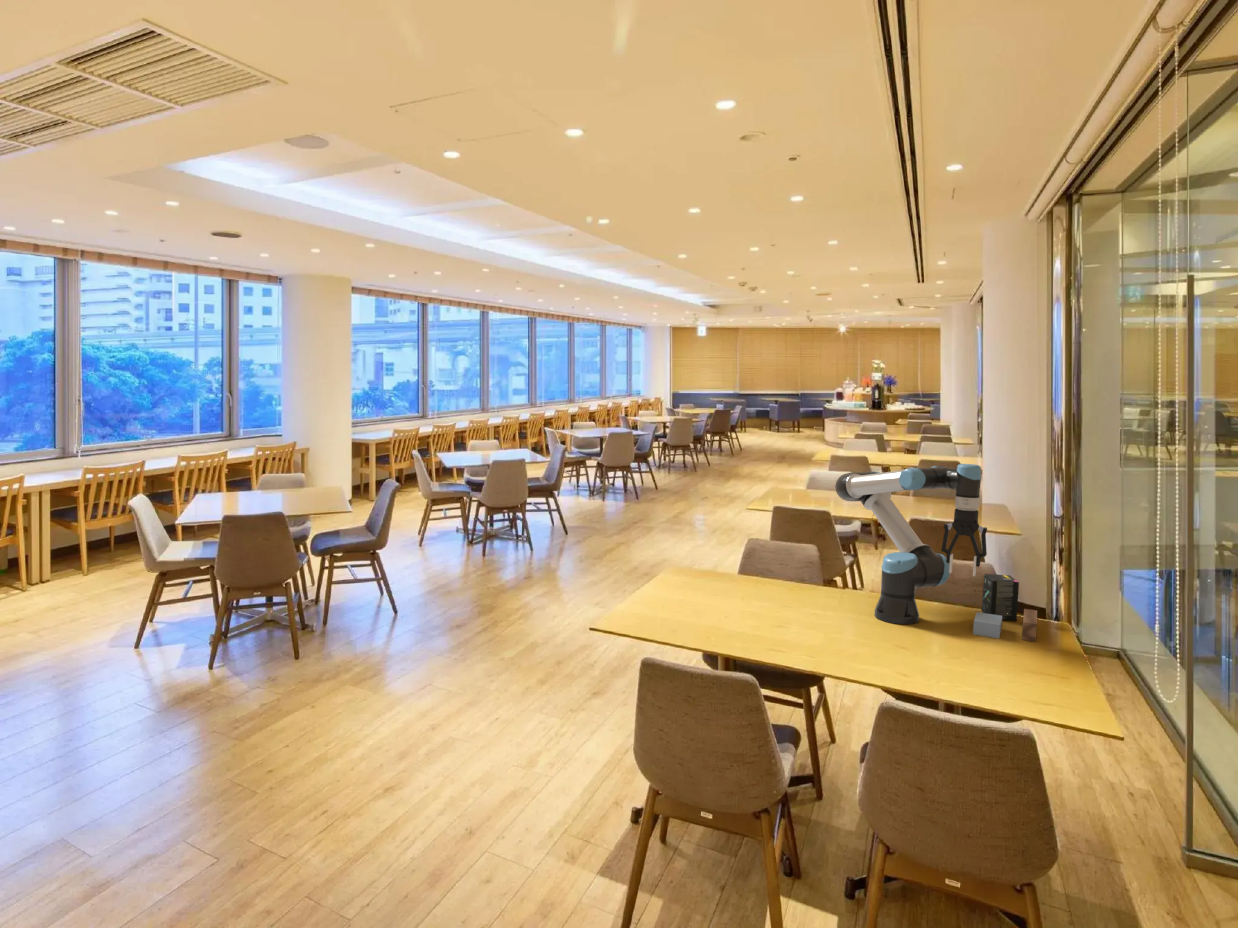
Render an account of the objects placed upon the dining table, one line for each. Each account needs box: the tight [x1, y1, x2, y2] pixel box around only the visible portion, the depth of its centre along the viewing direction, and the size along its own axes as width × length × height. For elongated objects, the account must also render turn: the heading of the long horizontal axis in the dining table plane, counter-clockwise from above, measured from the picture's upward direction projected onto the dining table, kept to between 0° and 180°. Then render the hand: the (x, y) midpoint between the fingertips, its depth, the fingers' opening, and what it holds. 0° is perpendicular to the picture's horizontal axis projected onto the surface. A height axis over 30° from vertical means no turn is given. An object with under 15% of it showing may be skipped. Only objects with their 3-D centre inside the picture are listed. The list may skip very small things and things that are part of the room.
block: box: [972, 611, 1003, 639], centre depth 252 cm, size 8×12×5 cm, turn 150°
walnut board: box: [1021, 608, 1038, 643], centre depth 251 cm, size 4×18×6 cm, turn 150°
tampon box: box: [981, 573, 1020, 622], centre depth 269 cm, size 11×9×15 cm
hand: (962, 573), depth 255 cm, fingers open, 7 cm apart
